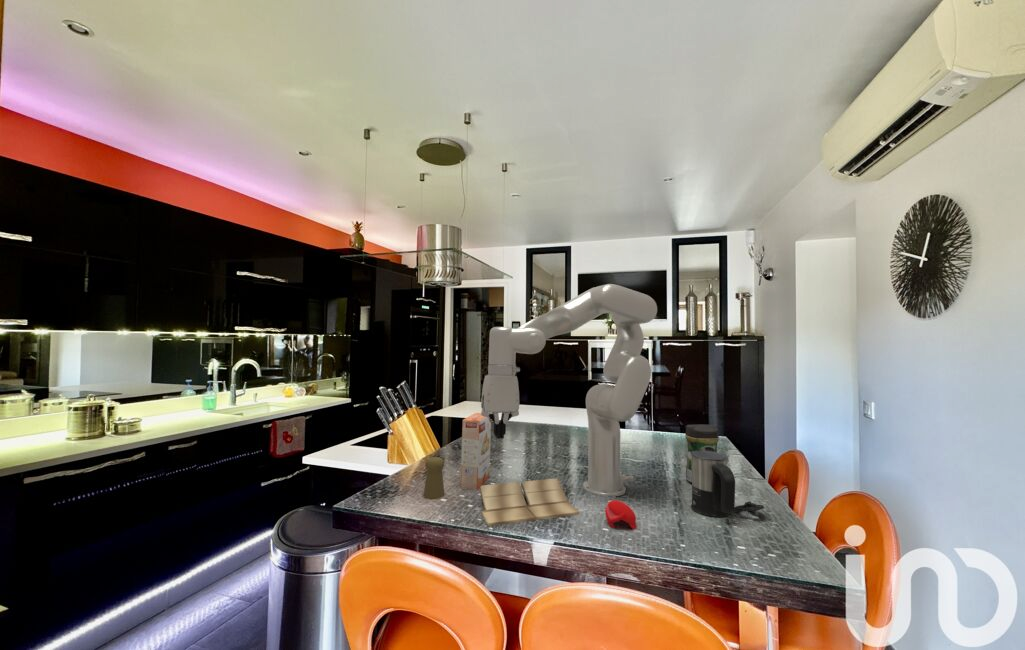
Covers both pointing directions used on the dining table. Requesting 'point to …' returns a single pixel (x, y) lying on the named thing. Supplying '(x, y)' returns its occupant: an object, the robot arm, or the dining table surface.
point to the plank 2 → (543, 491)
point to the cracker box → (475, 451)
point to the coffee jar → (700, 442)
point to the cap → (620, 513)
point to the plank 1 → (502, 496)
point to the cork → (434, 478)
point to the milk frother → (714, 486)
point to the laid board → (528, 513)
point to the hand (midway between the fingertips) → (499, 437)
